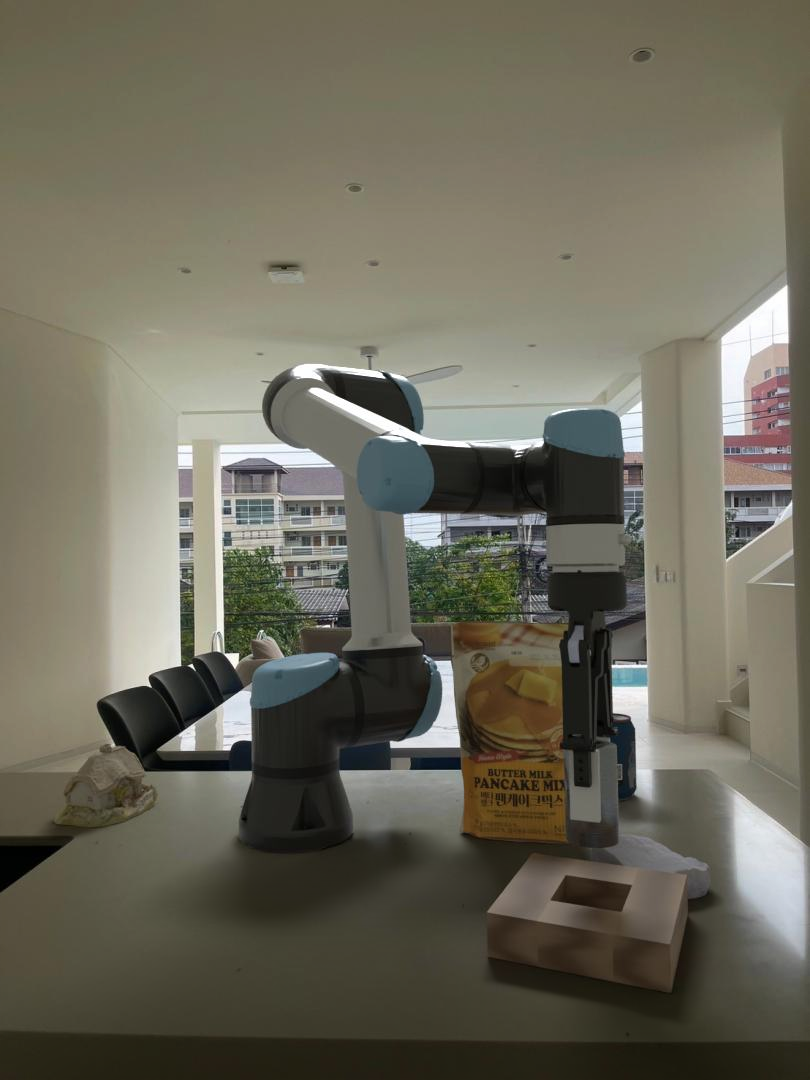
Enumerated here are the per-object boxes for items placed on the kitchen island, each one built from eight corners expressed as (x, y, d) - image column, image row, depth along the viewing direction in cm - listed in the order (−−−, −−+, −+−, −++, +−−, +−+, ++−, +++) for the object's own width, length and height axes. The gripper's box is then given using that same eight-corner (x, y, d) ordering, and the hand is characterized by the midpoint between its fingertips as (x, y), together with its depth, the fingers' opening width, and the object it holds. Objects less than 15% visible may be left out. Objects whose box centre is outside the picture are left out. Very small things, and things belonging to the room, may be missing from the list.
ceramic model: (98, 833, 108) (97, 759, 109) (39, 822, 113) (39, 751, 114) (170, 804, 121) (169, 737, 121) (114, 796, 126) (114, 732, 126)
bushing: (560, 844, 76) (558, 747, 76) (572, 828, 80) (570, 736, 81) (614, 851, 74) (611, 751, 74) (623, 834, 78) (620, 740, 79)
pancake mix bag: (454, 821, 111) (452, 619, 112) (596, 829, 107) (592, 619, 108) (447, 838, 104) (444, 623, 105) (597, 847, 100) (593, 623, 101)
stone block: (647, 873, 97) (580, 870, 93) (653, 833, 97) (587, 828, 93) (722, 916, 86) (651, 914, 82) (729, 870, 87) (658, 867, 83)
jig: (487, 956, 73) (486, 912, 73) (533, 890, 88) (532, 853, 88) (671, 993, 67) (670, 944, 67) (687, 914, 81) (687, 874, 81)
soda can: (588, 788, 126) (586, 711, 127) (633, 789, 125) (631, 712, 126) (592, 801, 119) (590, 720, 120) (640, 802, 119) (638, 721, 119)
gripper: (608, 570, 68) (615, 846, 68) (639, 568, 85) (644, 790, 84) (523, 571, 71) (528, 835, 71) (568, 569, 88) (573, 783, 87)
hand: (591, 810), depth 77 cm, fingers closed on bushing, 5 cm apart
